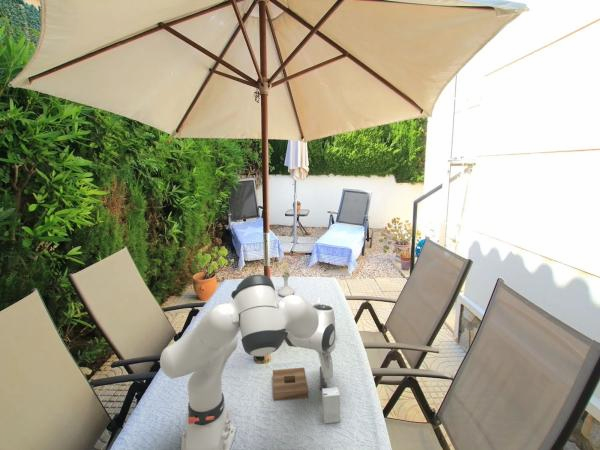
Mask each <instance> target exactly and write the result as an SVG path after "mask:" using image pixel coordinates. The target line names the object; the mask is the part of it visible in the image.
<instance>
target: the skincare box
mask: <svg viewBox="0 0 600 450" xmlns="http://www.w3.org/2000/svg"><path fill="white" fill-rule="evenodd" d="M340 397H341V394H340V392H339V388H338V386H335V387H327V388H324V389H322V391H321V398H322V399H321V400H322V402H321V403H322V406H321V407H322V417H323V424H333V423H334V424H335V423H341V398H340Z"/></svg>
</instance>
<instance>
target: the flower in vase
mask: <svg viewBox="0 0 600 450" xmlns="http://www.w3.org/2000/svg"><path fill="white" fill-rule="evenodd" d="M289 266H290V265H289V263H288V262H287V261H284V262H282V263H281V265H280V268H279V269H280V270H279V271H280V272H281V273H282V275H281V277H282V279H283V282H284V283H283V284H284V285H283V287H281V288H280V289H279V290H278V292H277V293H278V296H282V297H285V296H288V295H295V290H294V289H293V287H290V286H289V285H288V279H289V277H291V275H290V272H289V271H288V270H289V268H290V267H289Z"/></svg>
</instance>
